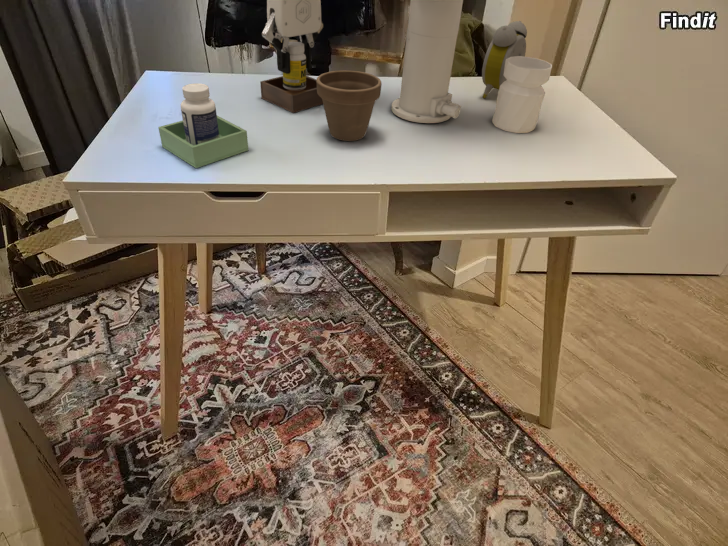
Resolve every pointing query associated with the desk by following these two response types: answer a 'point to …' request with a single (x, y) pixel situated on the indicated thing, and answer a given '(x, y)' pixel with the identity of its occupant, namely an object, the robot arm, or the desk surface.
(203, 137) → the pill bottle
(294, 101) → the walnut tray
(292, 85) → the supplement bottle
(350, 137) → the flower pot
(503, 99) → the vase
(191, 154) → the green tray
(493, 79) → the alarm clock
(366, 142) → the desk surface
